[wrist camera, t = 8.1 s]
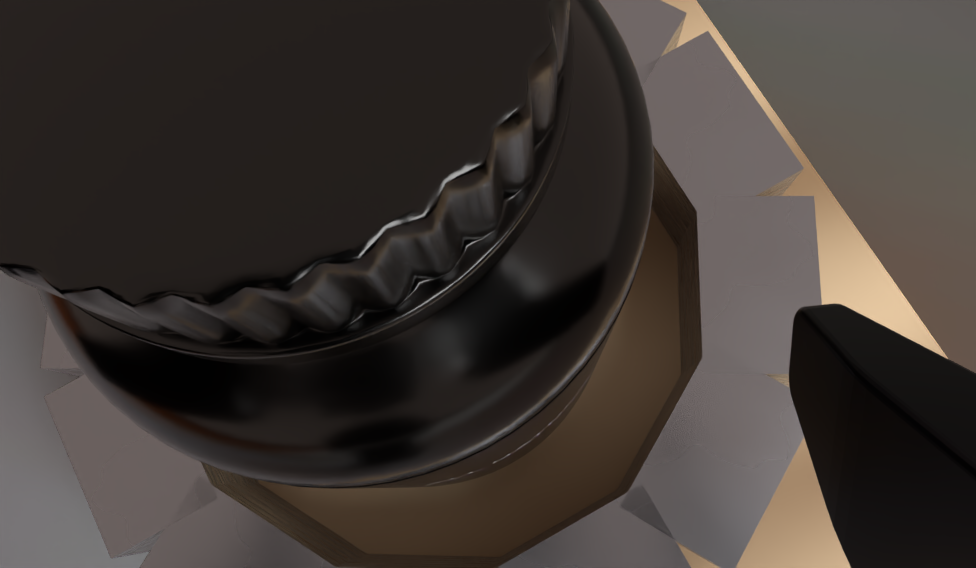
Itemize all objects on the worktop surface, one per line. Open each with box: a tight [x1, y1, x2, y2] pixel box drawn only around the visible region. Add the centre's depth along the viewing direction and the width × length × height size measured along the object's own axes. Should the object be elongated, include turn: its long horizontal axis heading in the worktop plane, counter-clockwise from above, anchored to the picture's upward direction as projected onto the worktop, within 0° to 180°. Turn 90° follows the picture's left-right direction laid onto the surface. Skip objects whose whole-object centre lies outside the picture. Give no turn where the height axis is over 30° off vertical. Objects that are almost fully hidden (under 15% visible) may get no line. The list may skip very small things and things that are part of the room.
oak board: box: [258, 0, 948, 568], centre depth 18 cm, size 18×14×1 cm
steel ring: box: [40, 0, 822, 568], centre depth 16 cm, size 14×14×2 cm
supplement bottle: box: [0, 0, 654, 489], centre depth 11 cm, size 7×7×12 cm
